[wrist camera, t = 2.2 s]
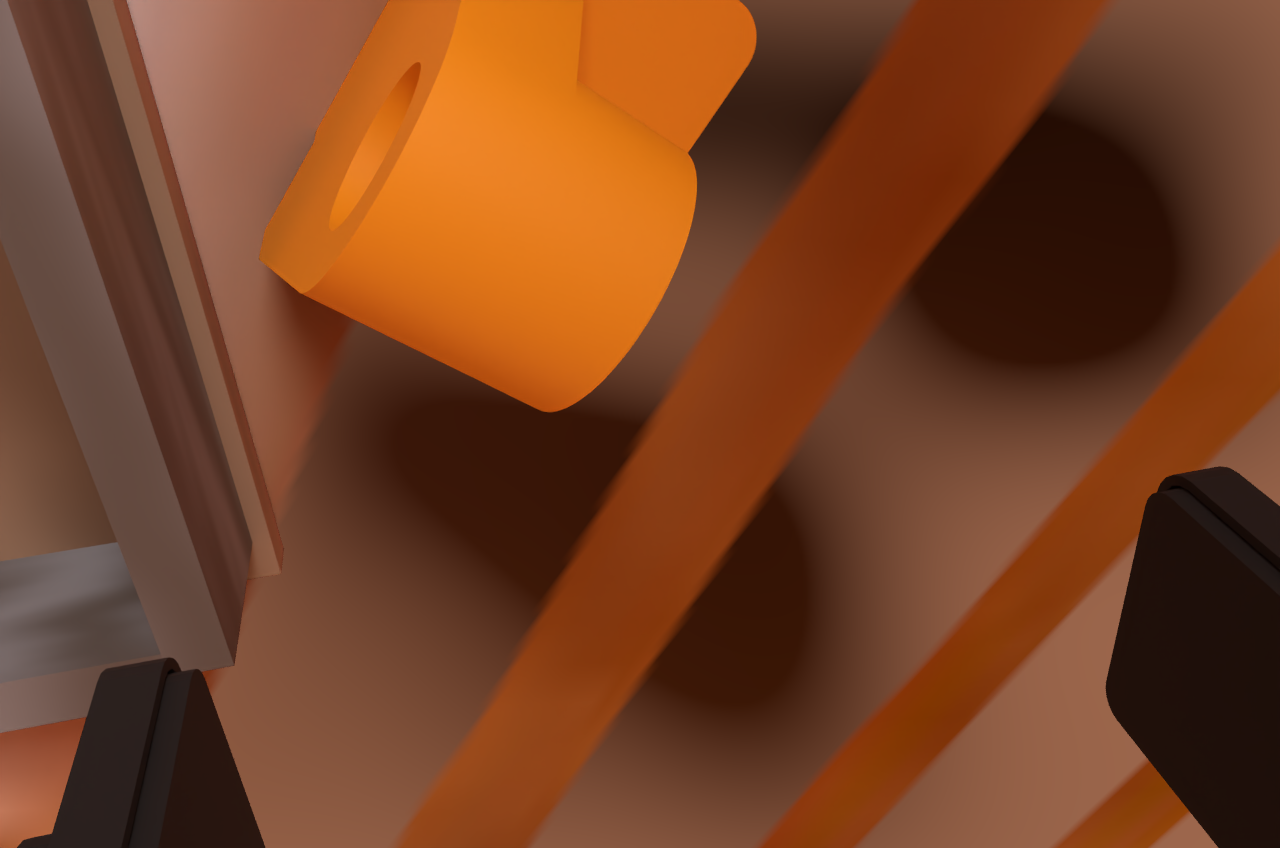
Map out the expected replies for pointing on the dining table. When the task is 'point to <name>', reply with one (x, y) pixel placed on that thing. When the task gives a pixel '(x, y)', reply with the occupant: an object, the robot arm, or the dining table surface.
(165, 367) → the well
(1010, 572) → the dining table surface
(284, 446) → the dining table surface
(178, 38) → the dining table surface
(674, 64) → the bracket
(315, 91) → the dining table surface
